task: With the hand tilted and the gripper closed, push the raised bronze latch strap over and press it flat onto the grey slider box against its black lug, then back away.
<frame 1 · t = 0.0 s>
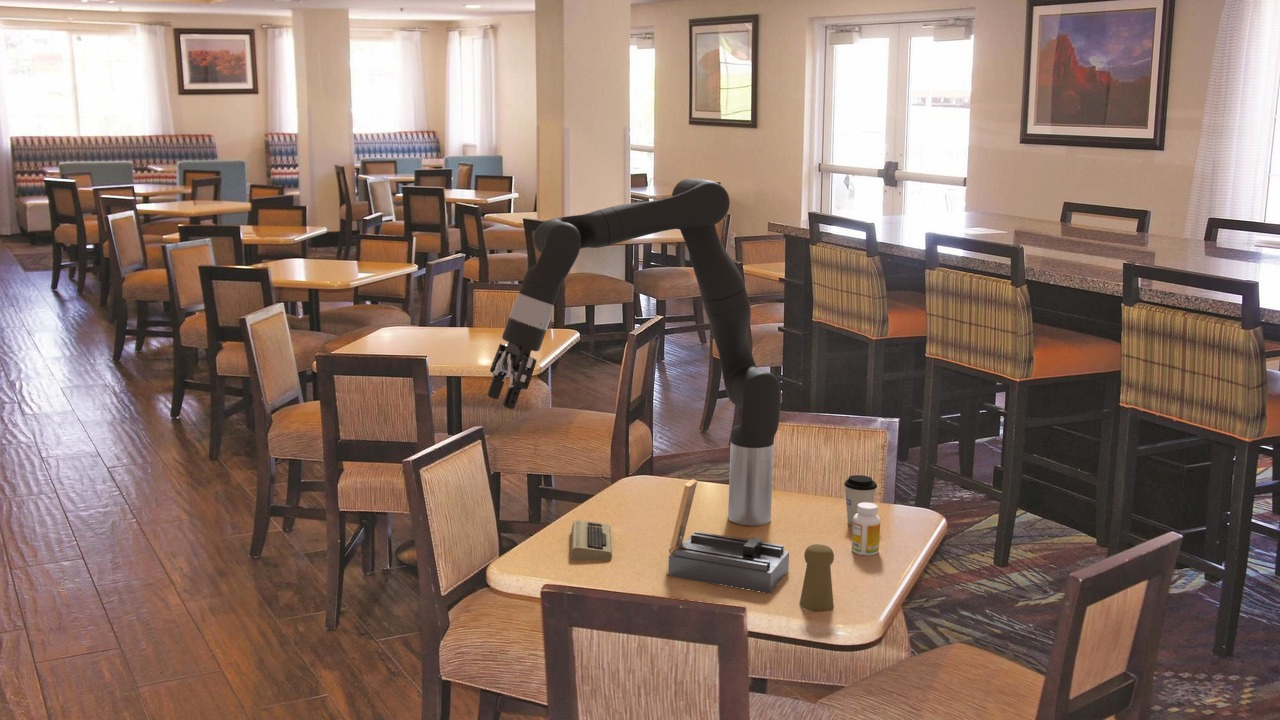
hand: (499, 402, 222), 31 cm above the table, tool tilted 20°, fingers open, 8 cm apart
computer: (591, 548, 237), on the table
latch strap: (683, 517, 225), point 10 cm above the table, hinge at 78.0°
olive pawn: (816, 605, 210), on the table
grey slider box: (728, 573, 223), on the table
coffee cup: (858, 523, 252), on the table
supplement bottle: (864, 552, 236), on the table
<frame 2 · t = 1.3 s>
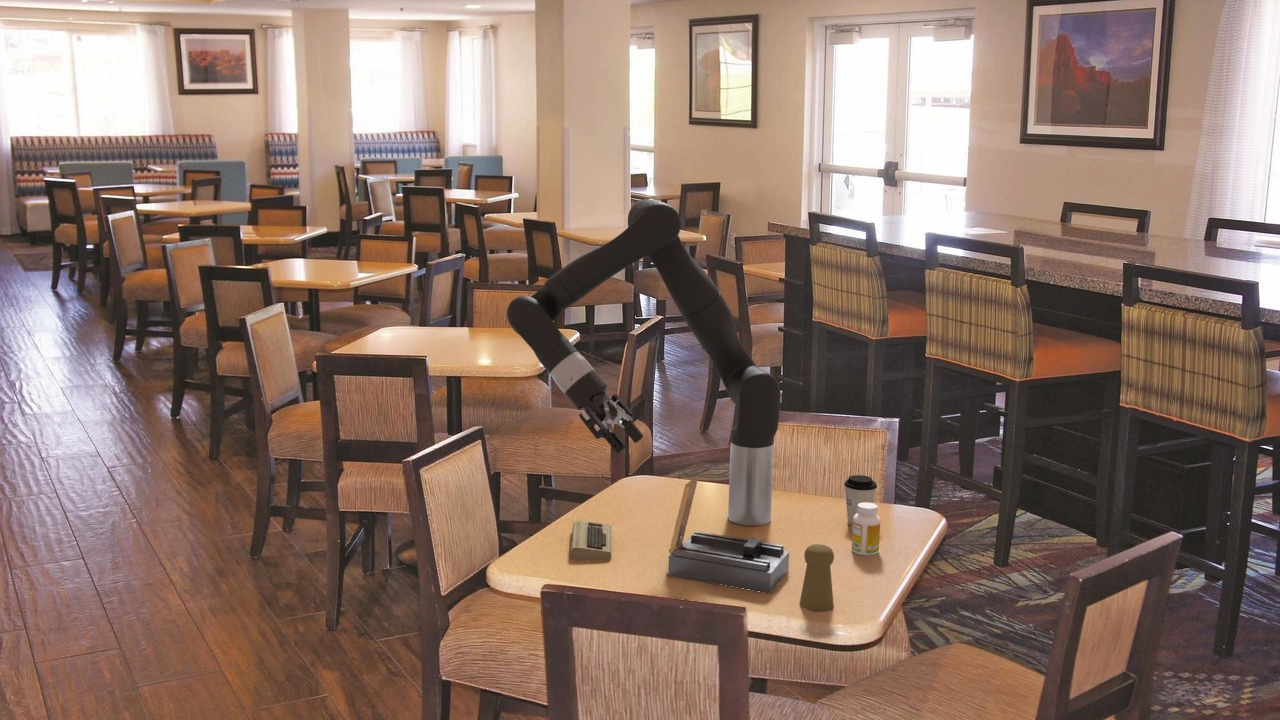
hand: (631, 445, 226), 23 cm above the table, tool tilted 45°, fingers open, 8 cm apart
nothing on the table moved.
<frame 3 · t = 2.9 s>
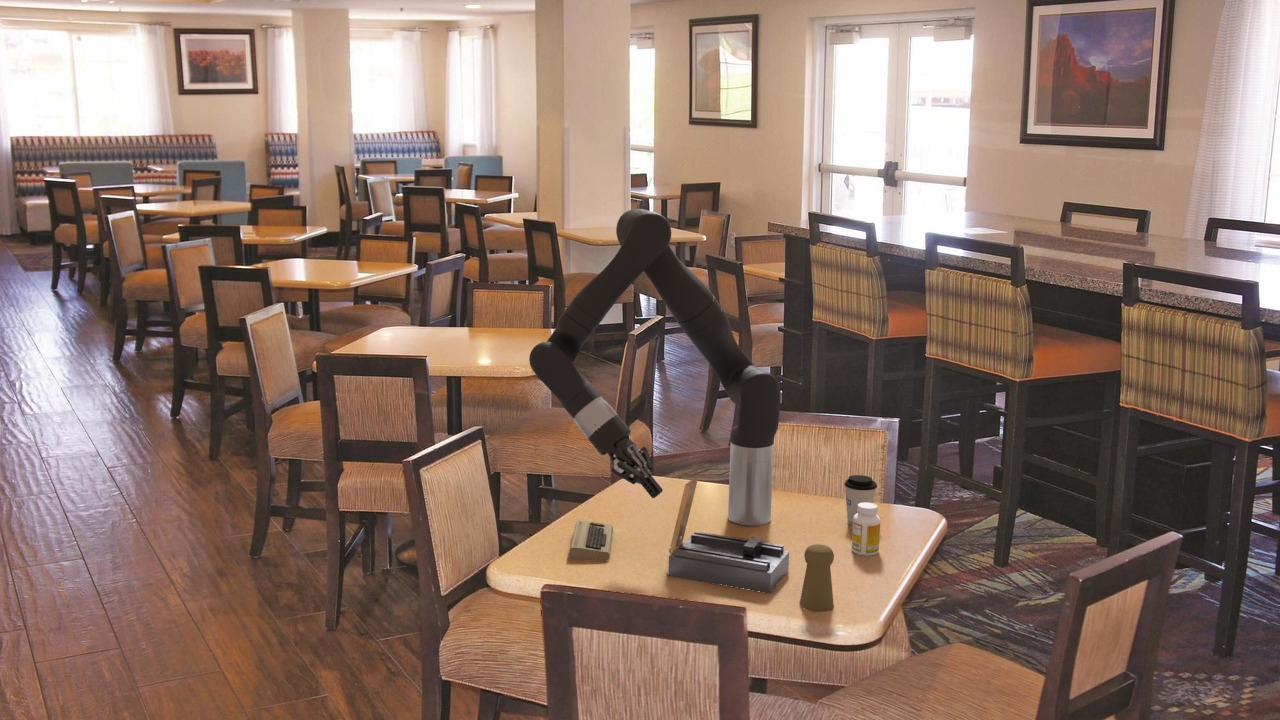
hand: (658, 494, 226), 14 cm above the table, tool tilted 45°, fingers closed
nothing on the table moved.
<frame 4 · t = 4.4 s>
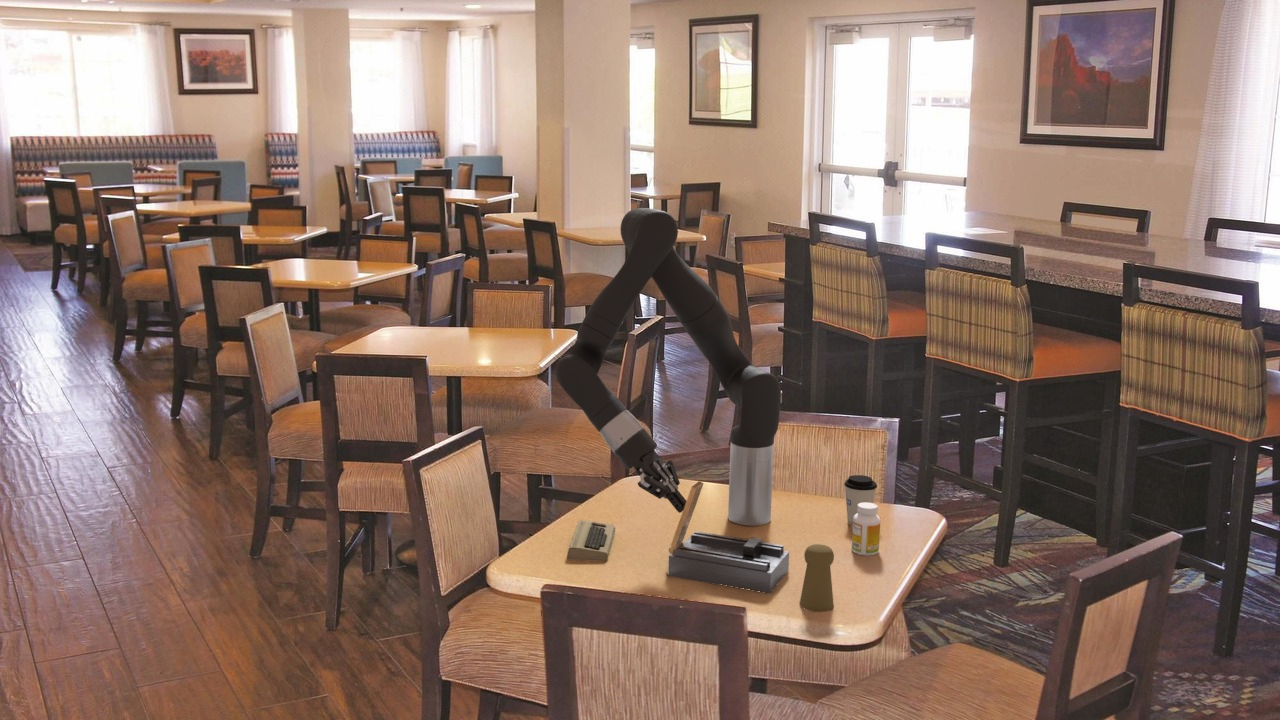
hand: (684, 509, 225), 11 cm above the table, tool tilted 45°, fingers closed
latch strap: (686, 518, 225), point 10 cm above the table, hinge at 72.1°, touching gripper
everything else where it was.
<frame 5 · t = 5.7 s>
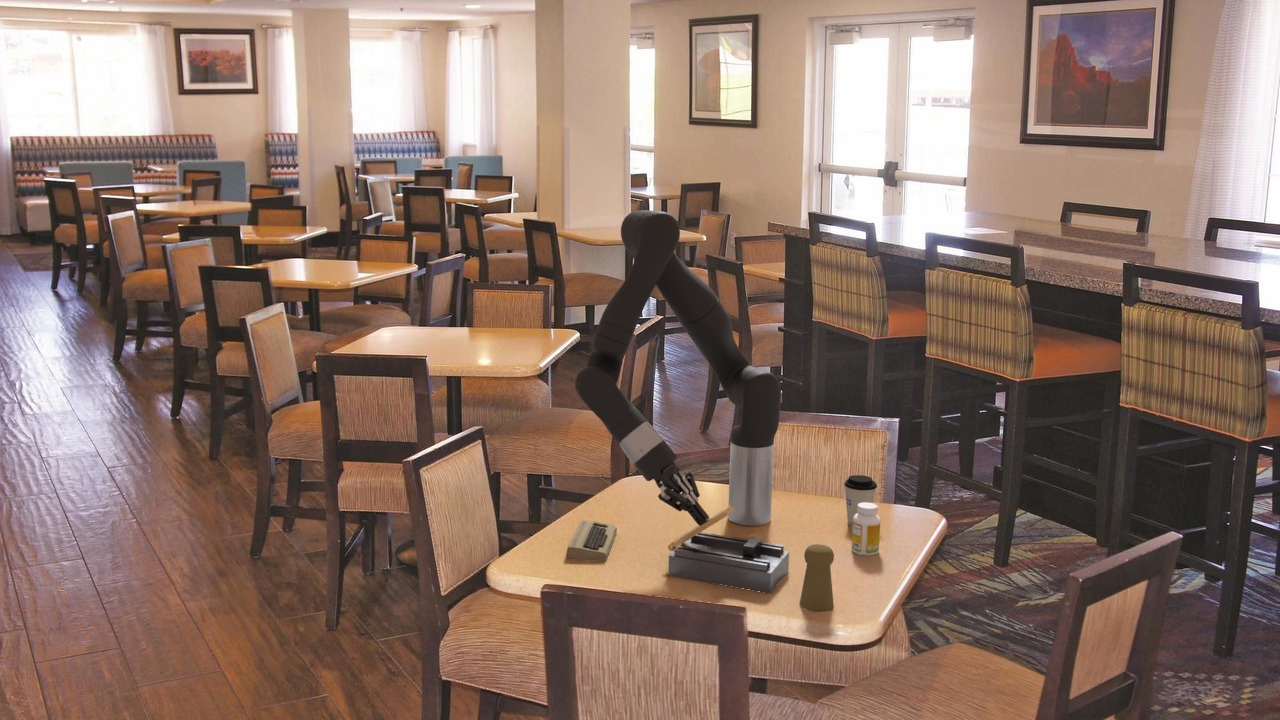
hand: (704, 521, 223), 9 cm above the table, tool tilted 45°, fingers closed
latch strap: (700, 528, 224), point 8 cm above the table, hinge at 37.9°, touching gripper
everything else where it was.
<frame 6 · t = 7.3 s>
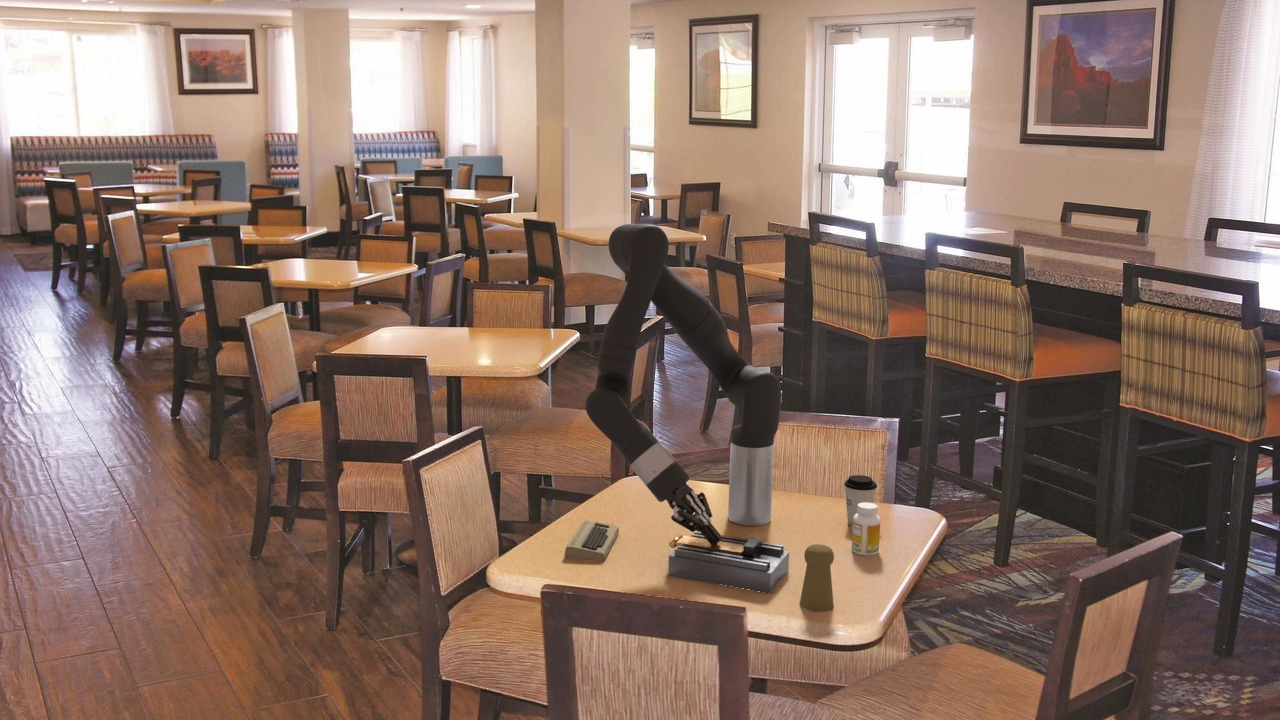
hand: (717, 542, 223), 6 cm above the table, tool tilted 45°, fingers closed
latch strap: (708, 546, 224), point 5 cm above the table, hinge at 0.6°, touching gripper
everything else where it was.
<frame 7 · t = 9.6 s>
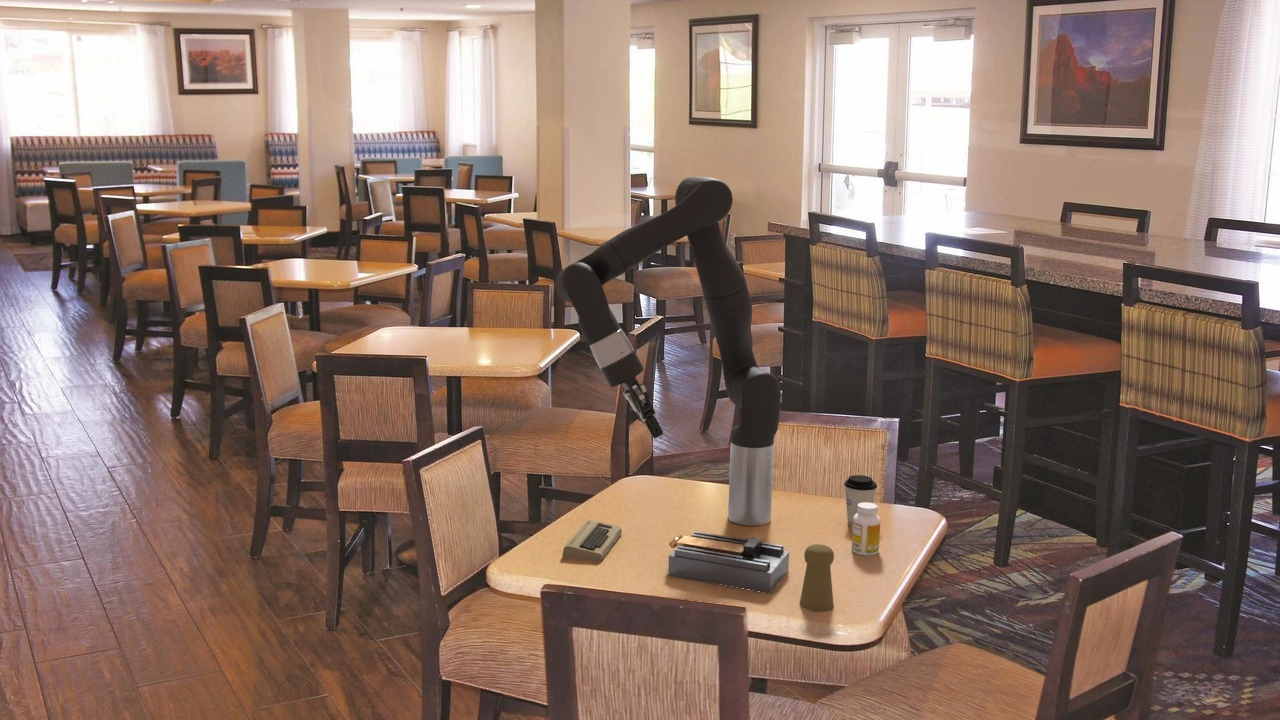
hand: (658, 436, 228), 24 cm above the table, tool tilted 30°, fingers closed
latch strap: (708, 546, 224), point 5 cm above the table, hinge at 0.6°
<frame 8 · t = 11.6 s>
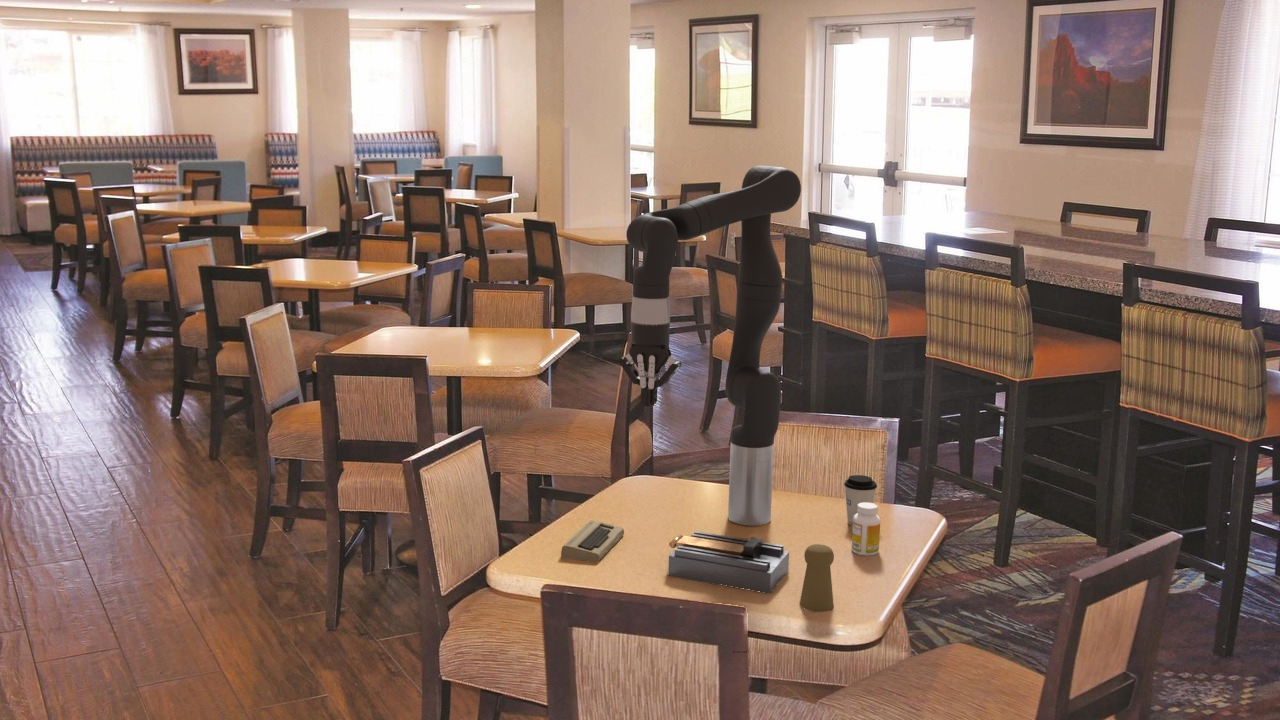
hand: (648, 406, 231), 29 cm above the table, tool pointing down, fingers closed
at the end: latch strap at +1° (first picture: +78°) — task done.
